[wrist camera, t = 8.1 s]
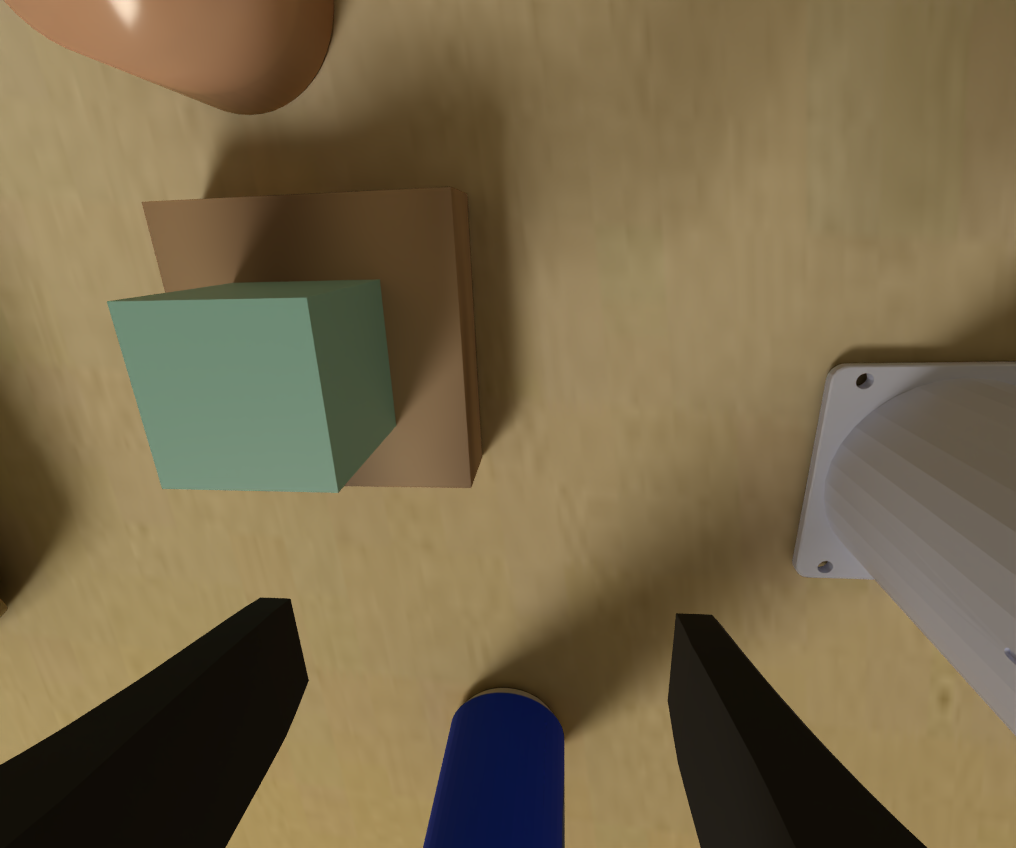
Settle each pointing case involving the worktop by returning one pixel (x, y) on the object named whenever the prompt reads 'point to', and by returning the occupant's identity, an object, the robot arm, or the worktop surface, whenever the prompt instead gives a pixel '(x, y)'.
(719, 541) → the worktop surface
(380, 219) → the base
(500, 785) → the beverage can
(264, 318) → the cube
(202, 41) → the rounded knob
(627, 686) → the worktop surface
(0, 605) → the plant pot
